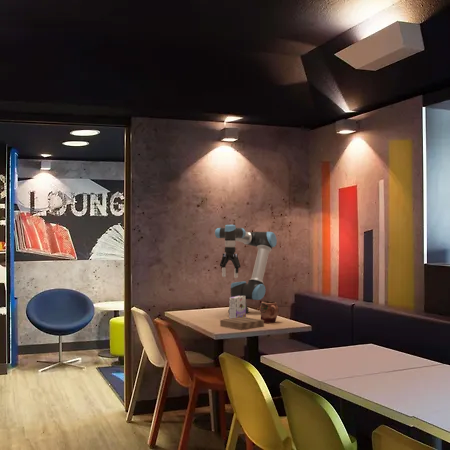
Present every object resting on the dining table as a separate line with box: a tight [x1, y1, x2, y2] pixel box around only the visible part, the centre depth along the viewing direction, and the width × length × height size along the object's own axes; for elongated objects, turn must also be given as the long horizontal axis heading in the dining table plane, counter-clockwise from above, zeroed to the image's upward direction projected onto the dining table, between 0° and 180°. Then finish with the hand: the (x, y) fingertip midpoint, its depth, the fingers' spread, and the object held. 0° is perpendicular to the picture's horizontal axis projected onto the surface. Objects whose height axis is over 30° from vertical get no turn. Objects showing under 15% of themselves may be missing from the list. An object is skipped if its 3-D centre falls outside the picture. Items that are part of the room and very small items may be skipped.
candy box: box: [228, 296, 247, 319], centre depth 415 cm, size 14×6×16 cm, turn 149°
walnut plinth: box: [219, 316, 265, 331], centre depth 391 cm, size 20×20×4 cm
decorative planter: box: [258, 300, 280, 324], centre depth 406 cm, size 20×12×14 cm, turn 26°
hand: (229, 277), depth 420 cm, fingers open, 13 cm apart
